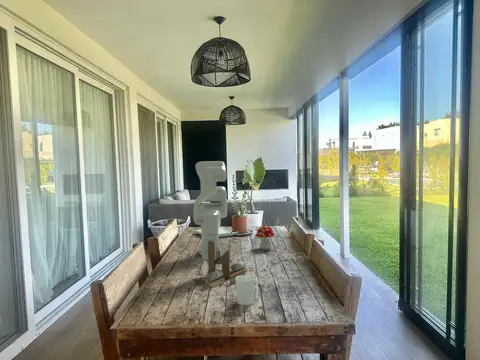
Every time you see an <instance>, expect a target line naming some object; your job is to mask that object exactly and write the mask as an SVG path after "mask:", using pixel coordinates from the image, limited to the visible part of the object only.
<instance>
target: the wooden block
mask: <svg viewBox="0 0 480 360" xmlns="http://www.w3.org/2000/svg"><path fill="white" fill-rule="evenodd" d="M230 262H231V260H230V248H228V249H227V250H226V251H225V252H223V254H221V257H220V258H219V260H217V261H216V263H215V242H211V241H209V242H208V263H207V266H208V269H207V270H208V271H207V274H210V273H213V272H215V271H218V270H220V269H219V268H218V269H216V268H217V267H216V265H221V270H222V272H223V277H222V278H224V279H230V271H231V263H230ZM215 264H216V265H215Z"/></svg>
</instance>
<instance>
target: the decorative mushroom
mask: <svg viewBox="0 0 480 360" xmlns="http://www.w3.org/2000/svg"><path fill="white" fill-rule="evenodd" d="M254 238H256V239H257V240H258V239H259V240H260V242H259V246H258V247H259V249H261V250H263V251H265V250H266V251H267V250H270V249H271V248H272V242H271V239H272V240H273V239H275V238H276V234H275V233H274V230H273V228H272V227H271V226H268V225H262V226H260V227H259V228H258V229H257V231H256V234H255V235H254Z"/></svg>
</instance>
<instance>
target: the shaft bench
mask: <svg viewBox="0 0 480 360" xmlns="http://www.w3.org/2000/svg"><path fill="white" fill-rule="evenodd" d="M246 266H247V265H246V262H245V261H244V260H241V261H238V262H236V263H233V264H232V265H231V264H230V278H229V284H231V285H233V284H236V280H235V278H236V277H237V276H240V275H246V274H247V273H248V268H247V267H246ZM222 277H223V272H222V269H219V270H218V271H215V272H213V273H210V274H208V273H207V274H206V276H205V278H206V280H205V282H204V284H205V286H207V287H211V288H215V287H217V286H220V285H221V284H224V283H225V278H222Z"/></svg>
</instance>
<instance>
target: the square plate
mask: <svg viewBox="0 0 480 360" xmlns="http://www.w3.org/2000/svg"><path fill="white" fill-rule="evenodd" d="M232 230H233V229H232V228H230V227H226V226H218V233H219V238H224V237H225V238H226V237H232V236H235V235H237V234H238V233H239V231H237V232H232ZM194 231H195V233H196V234H198V235H201V228H199V229H194ZM231 232H232V233H231ZM236 233H237V234H236ZM234 234H235V235H234Z"/></svg>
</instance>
